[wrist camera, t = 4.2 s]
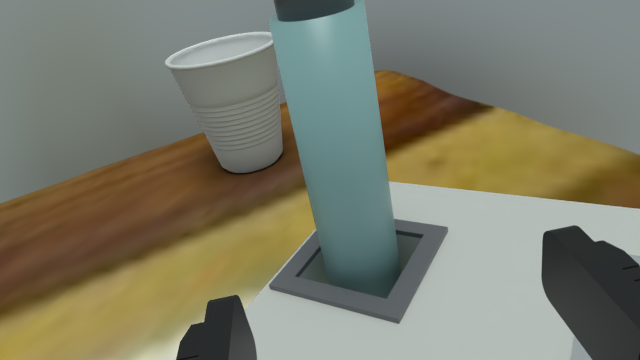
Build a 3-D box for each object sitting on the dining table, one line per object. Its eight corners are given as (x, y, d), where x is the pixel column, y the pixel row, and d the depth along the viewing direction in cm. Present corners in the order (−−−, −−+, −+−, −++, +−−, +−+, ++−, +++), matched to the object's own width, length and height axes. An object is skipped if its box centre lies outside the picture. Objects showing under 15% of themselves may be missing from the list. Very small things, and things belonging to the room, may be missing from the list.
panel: (870, 670, 13) (927, 608, 11) (227, 392, 24) (205, 340, 22) (767, 274, 24) (786, 214, 22) (365, 213, 35) (358, 170, 34)
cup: (300, 175, 42) (271, 51, 37) (191, 193, 43) (148, 74, 38) (304, 130, 51) (281, 25, 46) (214, 146, 52) (181, 44, 47)
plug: (388, 336, 25) (320, -72, 16) (321, 317, 27) (228, -54, 18) (415, 285, 28) (370, -85, 19) (353, 271, 30) (286, -68, 21)
